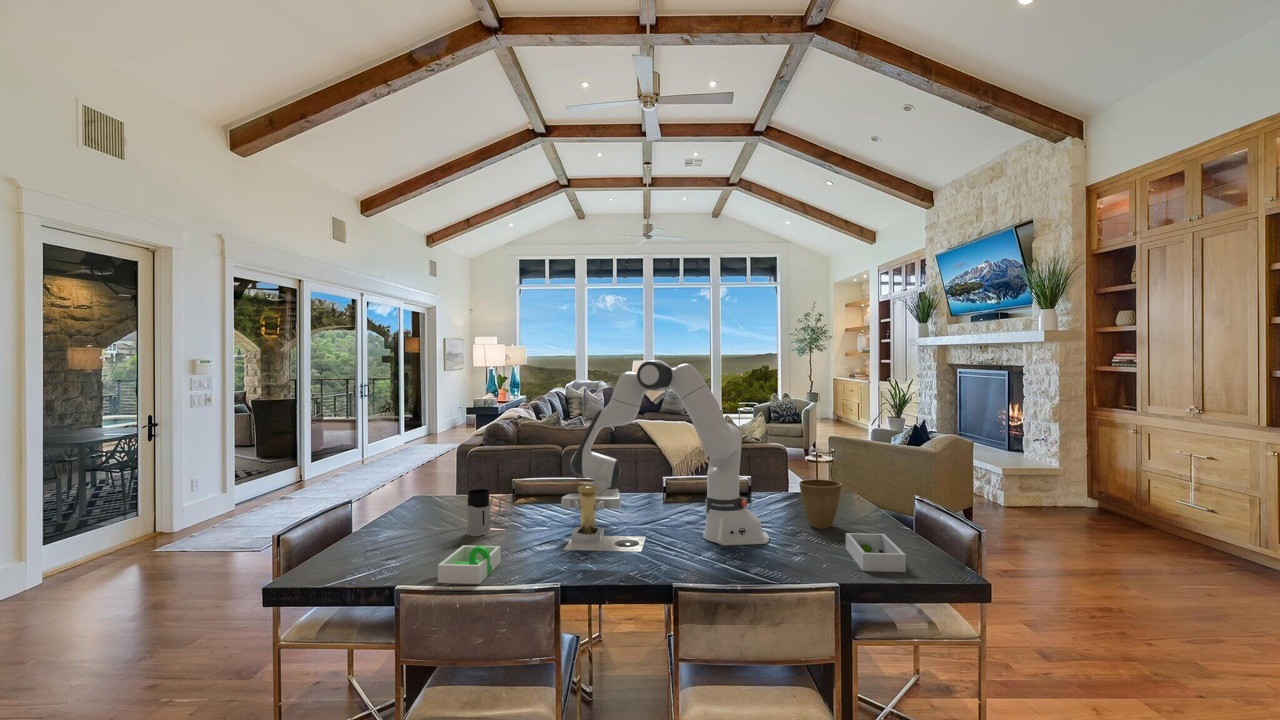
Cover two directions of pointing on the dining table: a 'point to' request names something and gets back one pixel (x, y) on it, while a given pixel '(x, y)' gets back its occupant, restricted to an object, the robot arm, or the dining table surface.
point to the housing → (603, 541)
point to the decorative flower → (868, 546)
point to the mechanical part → (475, 561)
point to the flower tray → (882, 562)
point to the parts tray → (467, 566)
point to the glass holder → (479, 512)
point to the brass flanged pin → (587, 508)
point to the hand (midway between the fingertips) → (587, 507)
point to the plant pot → (820, 501)
